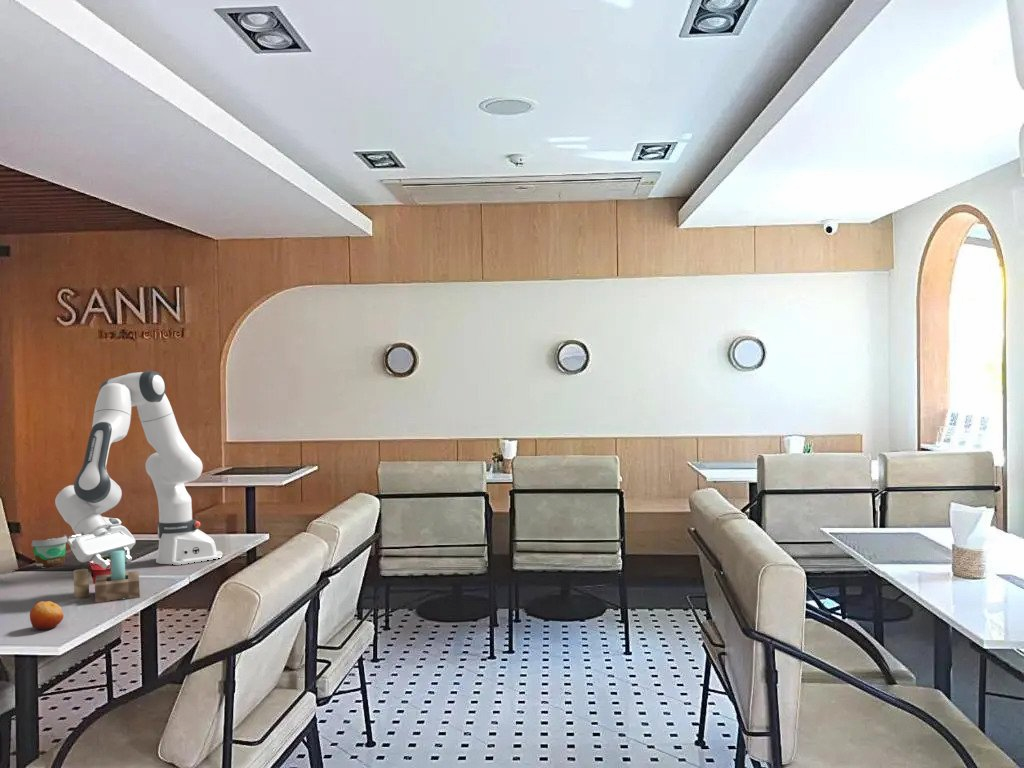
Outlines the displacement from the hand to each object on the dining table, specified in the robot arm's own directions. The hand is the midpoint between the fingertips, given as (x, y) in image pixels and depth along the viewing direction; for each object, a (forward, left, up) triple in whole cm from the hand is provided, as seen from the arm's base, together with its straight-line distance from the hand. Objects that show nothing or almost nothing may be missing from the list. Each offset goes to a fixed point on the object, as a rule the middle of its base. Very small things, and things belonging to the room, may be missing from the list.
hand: (118, 564), depth 267 cm
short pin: (+10, -3, -9) cm, 14 cm away
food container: (+21, -57, -10) cm, 62 cm away
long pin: (0, -1, -9) cm, 9 cm away
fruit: (+17, +29, -10) cm, 35 cm away
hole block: (0, 0, -9) cm, 9 cm away
